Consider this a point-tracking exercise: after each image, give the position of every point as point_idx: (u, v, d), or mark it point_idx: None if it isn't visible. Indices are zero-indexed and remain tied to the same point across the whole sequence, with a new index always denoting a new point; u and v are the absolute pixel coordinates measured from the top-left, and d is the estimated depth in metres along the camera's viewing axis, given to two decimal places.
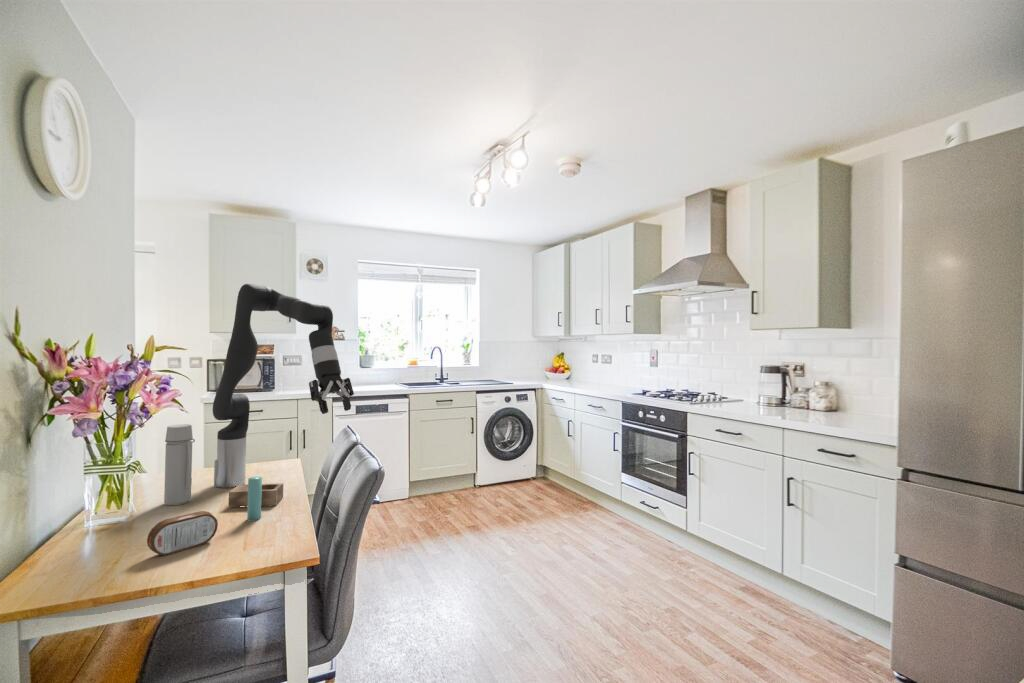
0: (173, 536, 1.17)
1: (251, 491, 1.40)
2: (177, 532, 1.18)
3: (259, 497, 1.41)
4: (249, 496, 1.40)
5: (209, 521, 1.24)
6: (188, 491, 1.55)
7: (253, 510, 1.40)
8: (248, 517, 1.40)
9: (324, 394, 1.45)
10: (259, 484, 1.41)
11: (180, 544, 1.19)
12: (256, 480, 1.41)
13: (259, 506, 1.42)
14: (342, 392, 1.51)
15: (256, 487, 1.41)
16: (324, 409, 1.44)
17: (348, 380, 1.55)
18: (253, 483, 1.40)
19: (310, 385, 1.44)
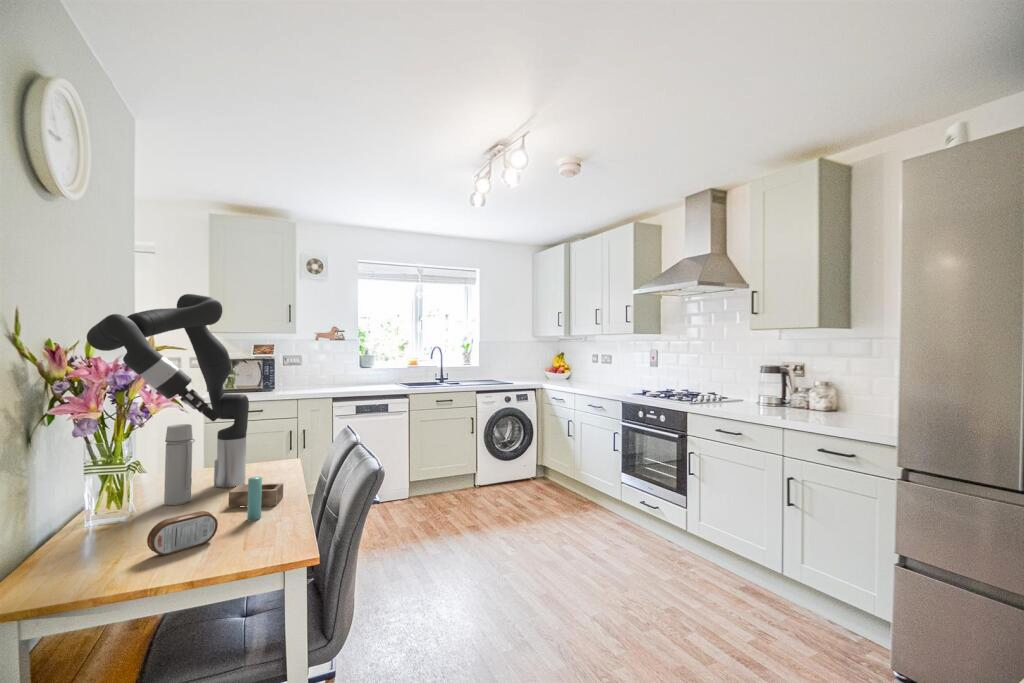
0: (173, 536, 1.17)
1: (251, 491, 1.40)
2: (177, 532, 1.18)
3: (259, 497, 1.41)
4: (249, 496, 1.40)
5: (209, 521, 1.24)
6: (188, 491, 1.55)
7: (253, 510, 1.40)
8: (248, 517, 1.40)
9: None
10: (259, 484, 1.41)
11: (180, 544, 1.19)
12: (256, 480, 1.41)
13: (259, 506, 1.42)
14: None
15: (256, 487, 1.41)
16: None
17: (185, 399, 1.26)
18: (253, 483, 1.40)
19: None
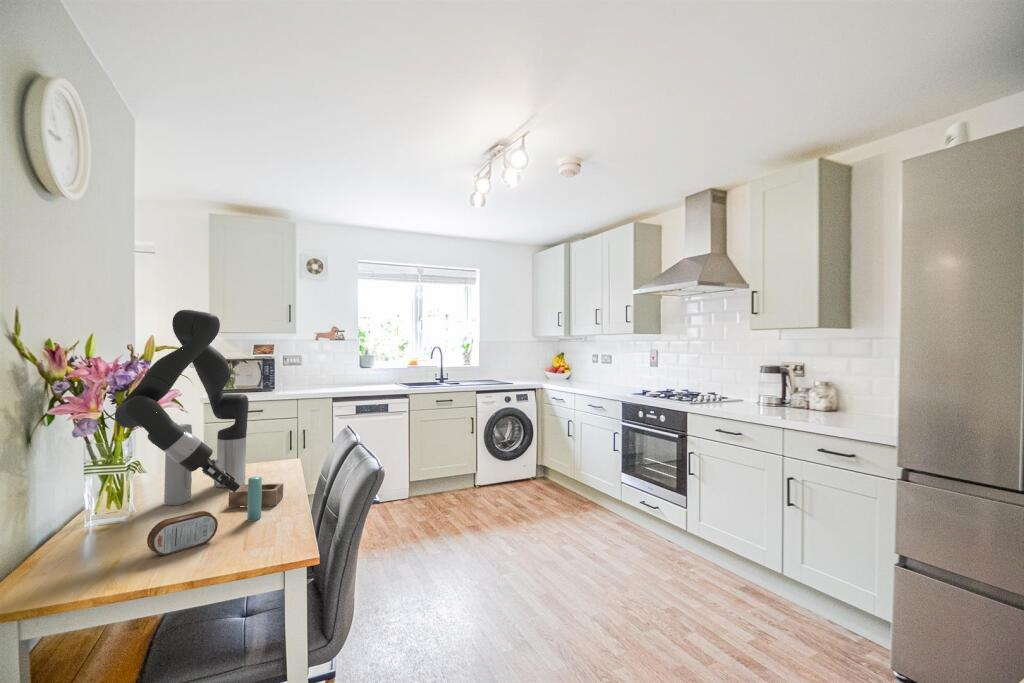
0: (173, 536, 1.17)
1: (251, 491, 1.40)
2: (177, 532, 1.18)
3: (259, 497, 1.41)
4: (249, 496, 1.40)
5: (209, 521, 1.24)
6: (188, 491, 1.55)
7: (253, 510, 1.40)
8: (248, 517, 1.40)
9: None
10: (259, 484, 1.41)
11: (180, 544, 1.19)
12: (256, 480, 1.41)
13: (259, 506, 1.42)
14: None
15: (256, 487, 1.41)
16: None
17: (207, 474, 1.29)
18: (253, 483, 1.40)
19: None
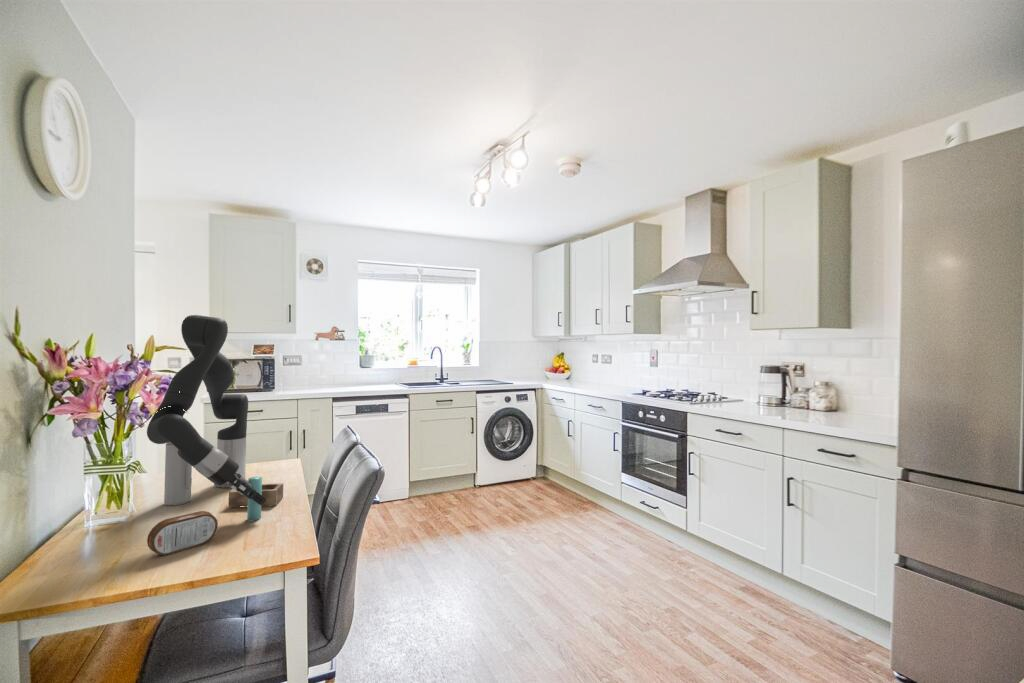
0: (173, 536, 1.17)
1: (251, 491, 1.40)
2: (177, 532, 1.18)
3: None
4: None
5: (209, 521, 1.24)
6: (188, 491, 1.55)
7: (253, 510, 1.40)
8: (248, 517, 1.40)
9: None
10: (259, 484, 1.41)
11: (180, 544, 1.19)
12: (256, 480, 1.41)
13: (259, 506, 1.42)
14: None
15: (256, 487, 1.41)
16: None
17: (238, 490, 1.34)
18: (253, 483, 1.40)
19: None
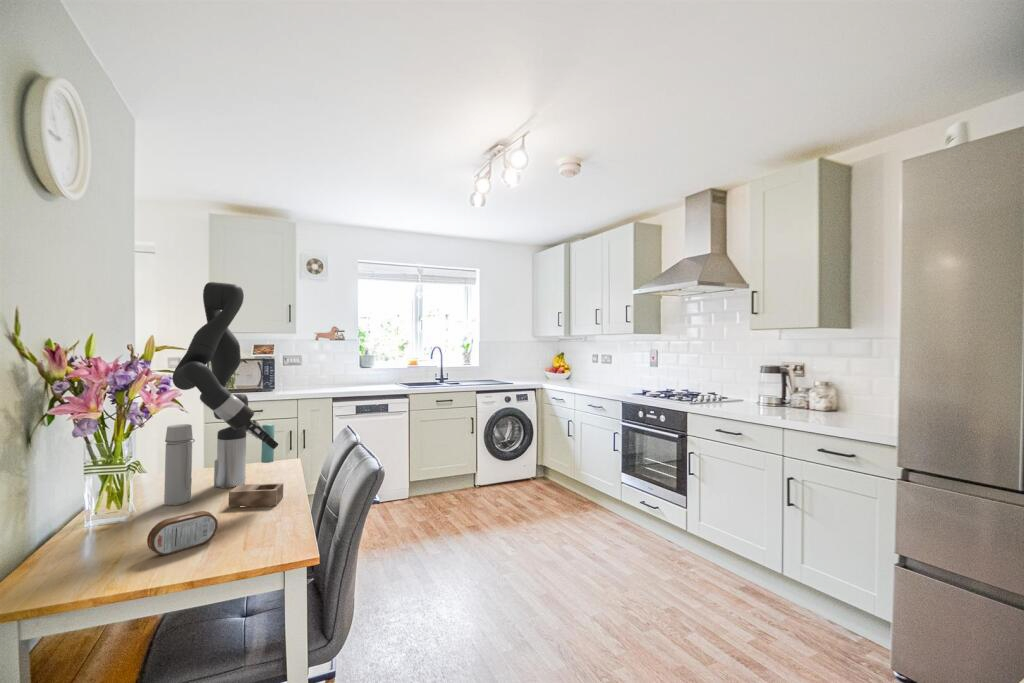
0: (173, 536, 1.17)
1: None
2: (177, 532, 1.18)
3: None
4: None
5: (209, 521, 1.24)
6: (188, 491, 1.55)
7: (267, 453, 1.55)
8: (262, 460, 1.55)
9: None
10: (272, 430, 1.56)
11: (180, 544, 1.19)
12: (269, 426, 1.55)
13: (272, 450, 1.56)
14: None
15: (269, 432, 1.55)
16: None
17: None
18: (267, 428, 1.55)
19: None
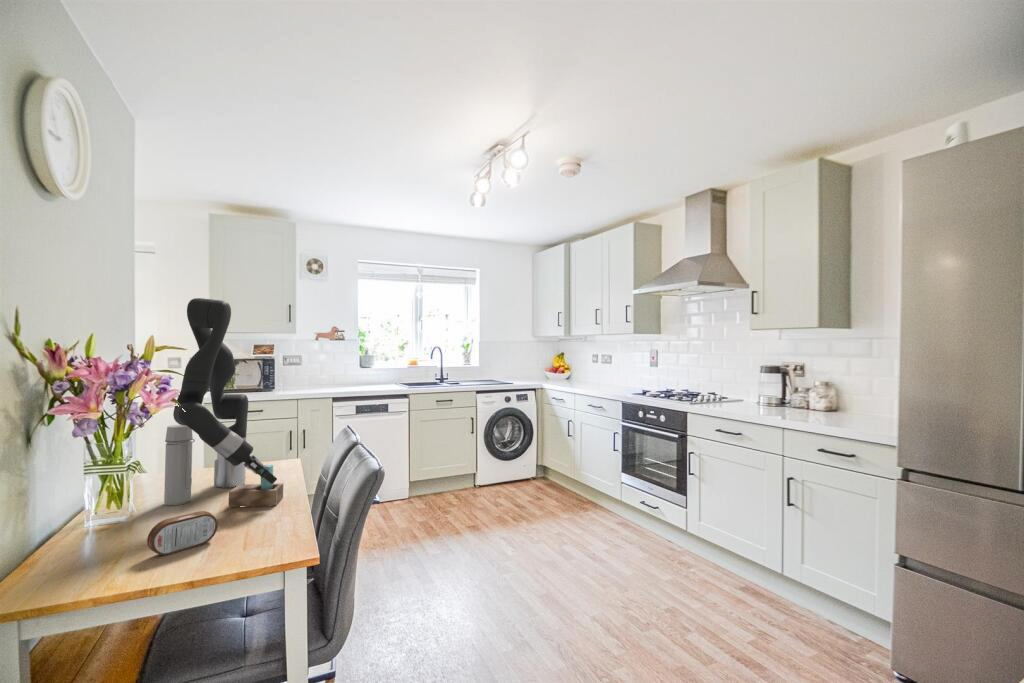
0: (173, 536, 1.17)
1: None
2: (177, 532, 1.18)
3: None
4: (262, 482, 1.55)
5: (209, 521, 1.24)
6: (188, 491, 1.55)
7: None
8: None
9: None
10: (271, 471, 1.56)
11: (180, 544, 1.19)
12: (268, 467, 1.55)
13: None
14: None
15: None
16: None
17: (250, 467, 1.48)
18: None
19: None
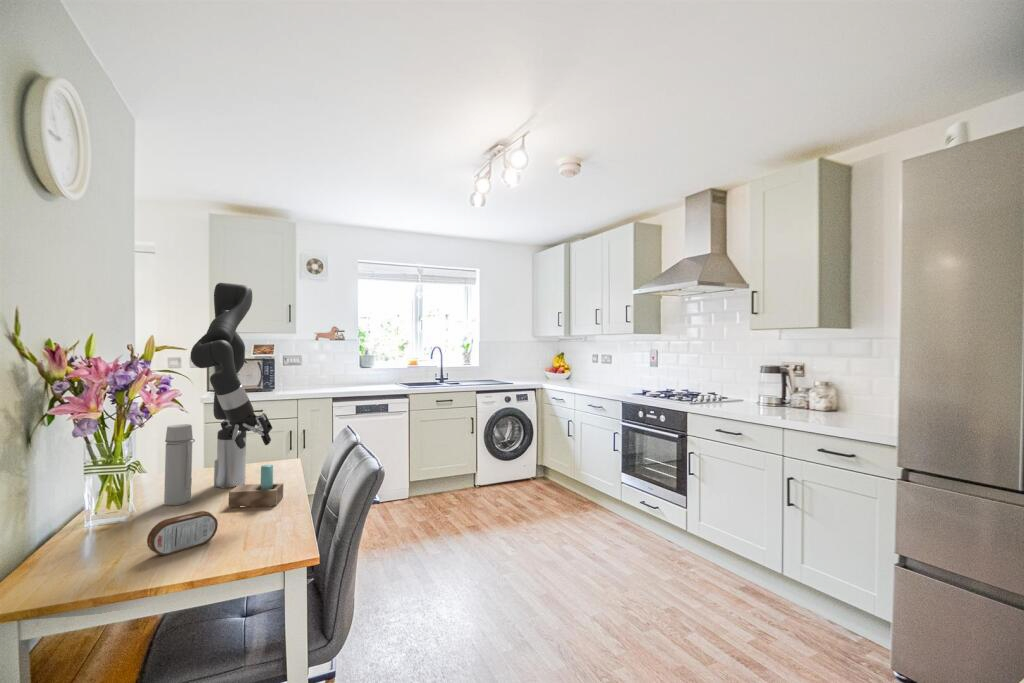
0: (173, 536, 1.17)
1: (263, 477, 1.55)
2: (177, 532, 1.18)
3: (271, 483, 1.56)
4: (262, 482, 1.55)
5: (209, 521, 1.24)
6: (188, 491, 1.55)
7: None
8: None
9: (234, 435, 1.49)
10: (271, 471, 1.56)
11: (180, 544, 1.19)
12: (268, 467, 1.55)
13: None
14: None
15: (268, 474, 1.55)
16: (238, 446, 1.51)
17: (260, 420, 1.46)
18: (265, 470, 1.55)
19: None
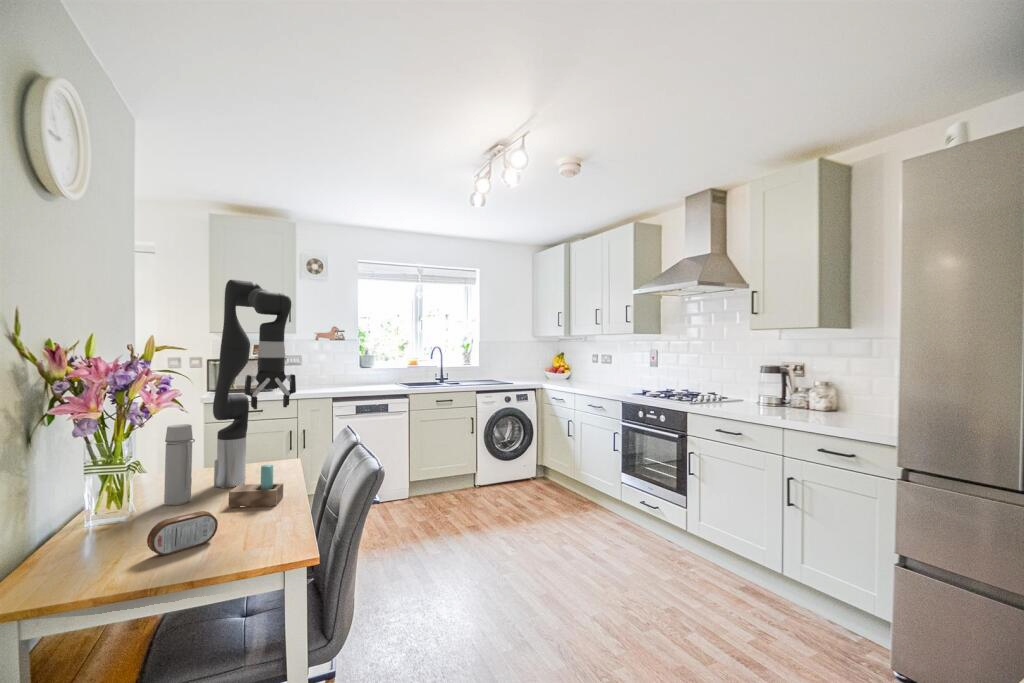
0: (173, 536, 1.17)
1: (263, 477, 1.55)
2: (177, 532, 1.18)
3: (271, 483, 1.56)
4: (262, 482, 1.55)
5: (209, 521, 1.24)
6: (188, 491, 1.55)
7: None
8: None
9: (256, 391, 1.45)
10: (271, 471, 1.56)
11: (180, 544, 1.19)
12: (268, 467, 1.55)
13: None
14: (281, 389, 1.50)
15: (268, 474, 1.55)
16: (253, 406, 1.45)
17: (293, 377, 1.52)
18: (266, 470, 1.55)
19: (245, 379, 1.45)
